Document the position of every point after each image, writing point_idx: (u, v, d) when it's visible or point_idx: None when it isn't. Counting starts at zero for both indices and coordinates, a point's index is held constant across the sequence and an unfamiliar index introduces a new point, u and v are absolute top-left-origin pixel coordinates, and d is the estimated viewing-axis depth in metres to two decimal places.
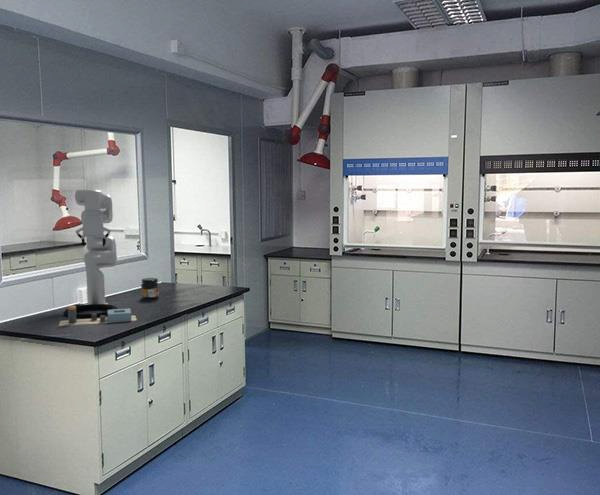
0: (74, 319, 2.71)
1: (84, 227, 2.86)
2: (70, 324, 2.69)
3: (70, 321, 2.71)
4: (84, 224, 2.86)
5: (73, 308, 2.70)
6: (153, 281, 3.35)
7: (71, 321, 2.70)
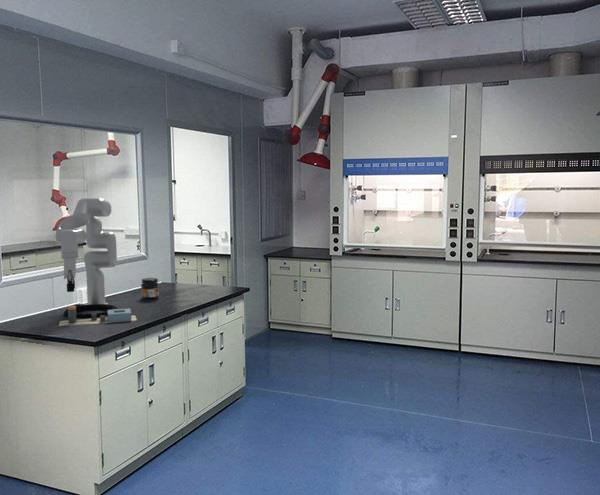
0: (74, 319, 2.71)
1: (74, 270, 2.66)
2: (70, 324, 2.69)
3: (70, 321, 2.71)
4: (74, 267, 2.66)
5: (73, 308, 2.70)
6: (153, 281, 3.35)
7: (71, 321, 2.70)
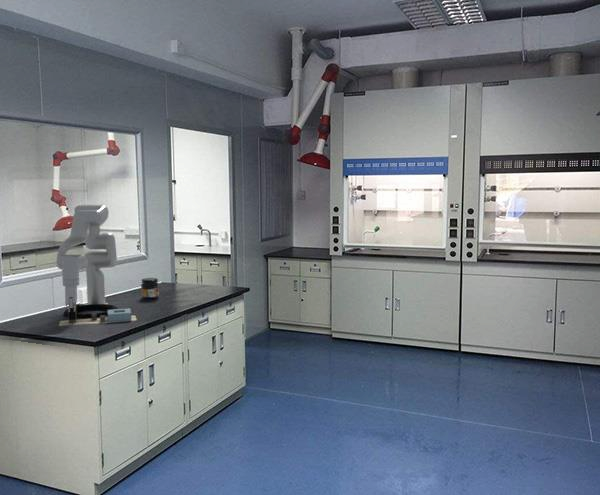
0: None
1: (75, 297, 2.68)
2: (70, 324, 2.69)
3: (70, 321, 2.71)
4: (75, 294, 2.68)
5: None
6: (153, 281, 3.35)
7: (71, 321, 2.70)
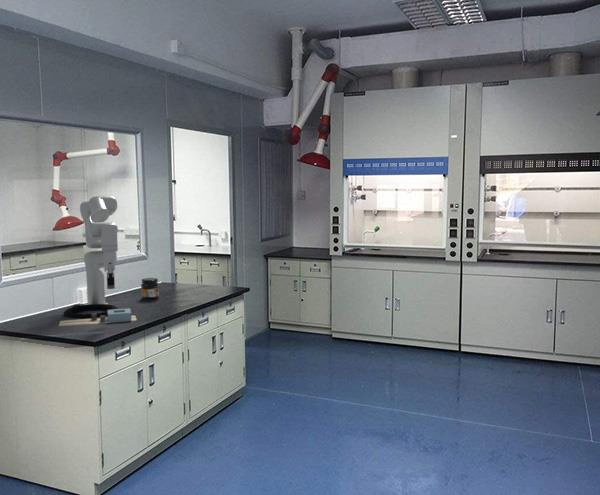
0: (112, 285, 2.76)
1: (114, 262, 2.72)
2: (70, 324, 2.69)
3: (109, 287, 2.75)
4: (114, 259, 2.72)
5: None
6: (153, 281, 3.35)
7: (109, 286, 2.75)
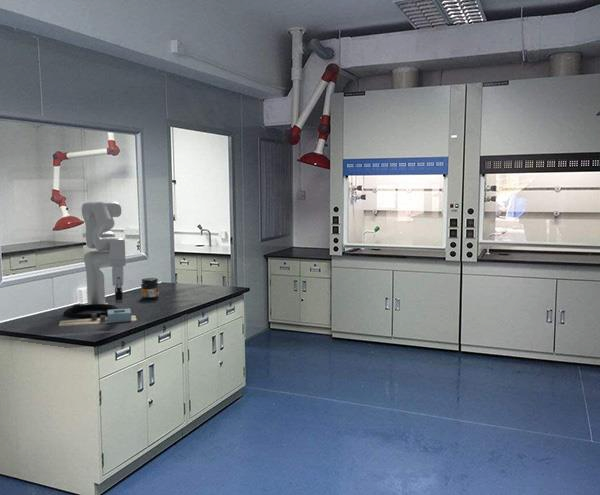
0: None
1: None
2: (70, 324, 2.69)
3: (117, 301, 2.77)
4: (122, 274, 2.74)
5: None
6: (153, 281, 3.35)
7: (118, 301, 2.77)
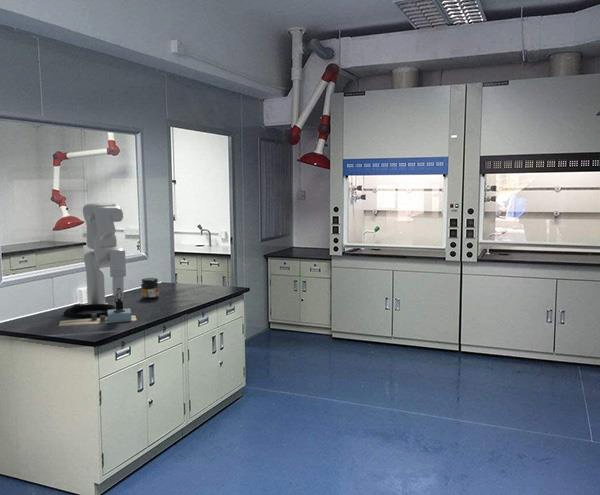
0: None
1: (123, 288, 2.75)
2: (70, 324, 2.69)
3: None
4: (123, 285, 2.75)
5: None
6: (153, 281, 3.35)
7: None
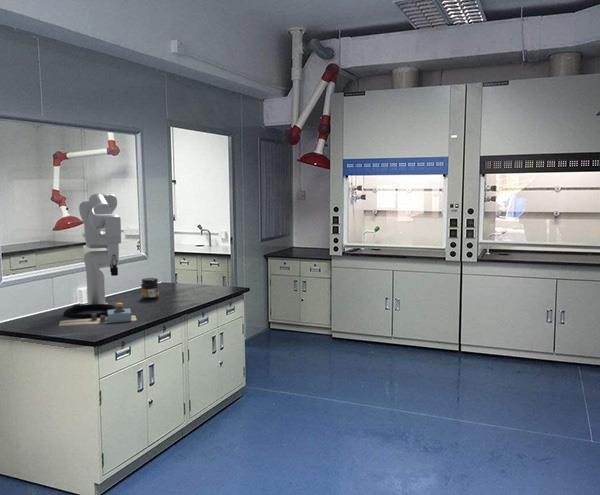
0: None
1: (118, 254, 2.75)
2: (70, 324, 2.69)
3: None
4: (118, 251, 2.74)
5: (120, 305, 2.78)
6: (153, 281, 3.35)
7: None
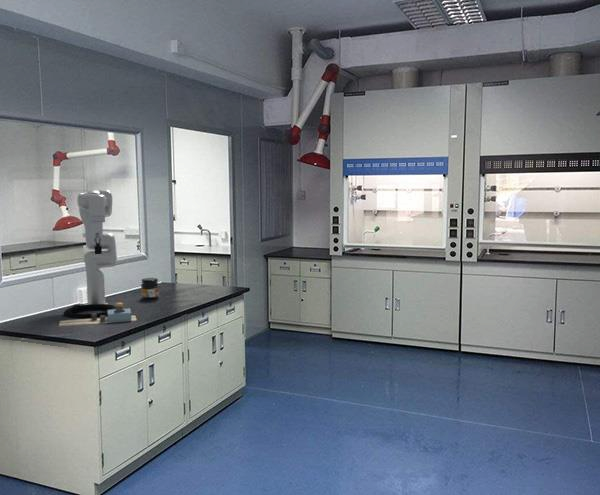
0: None
1: (102, 233, 2.77)
2: (70, 324, 2.69)
3: None
4: (101, 230, 2.77)
5: (120, 305, 2.78)
6: (153, 281, 3.35)
7: None
